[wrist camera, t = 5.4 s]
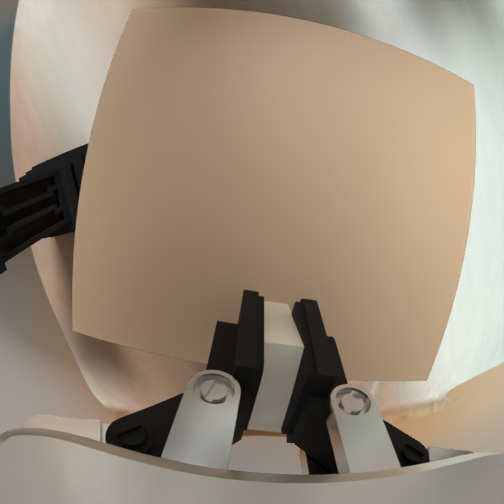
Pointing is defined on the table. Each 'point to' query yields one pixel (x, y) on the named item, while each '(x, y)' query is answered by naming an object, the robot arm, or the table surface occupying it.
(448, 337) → the table surface
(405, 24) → the table surface
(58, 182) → the chess piece
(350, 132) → the lid flap
